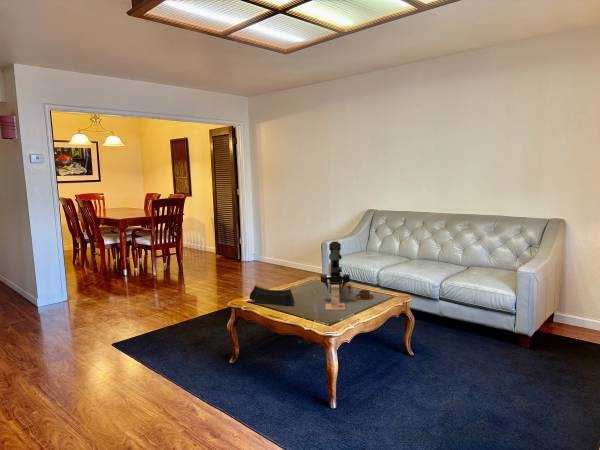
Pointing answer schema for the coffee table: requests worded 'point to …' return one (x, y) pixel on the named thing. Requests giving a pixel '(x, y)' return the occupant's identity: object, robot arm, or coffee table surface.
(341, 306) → the terracotta mat
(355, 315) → the coffee table surface
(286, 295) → the black flat curved piece
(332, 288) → the birch block
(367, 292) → the place setting
